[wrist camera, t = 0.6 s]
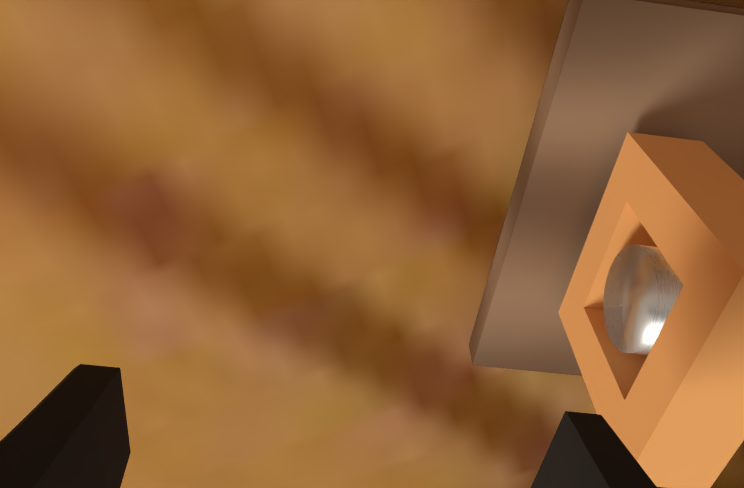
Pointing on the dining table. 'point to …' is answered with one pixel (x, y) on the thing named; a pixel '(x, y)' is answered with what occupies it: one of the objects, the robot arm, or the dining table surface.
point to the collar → (686, 319)
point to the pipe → (638, 297)
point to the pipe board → (602, 152)
